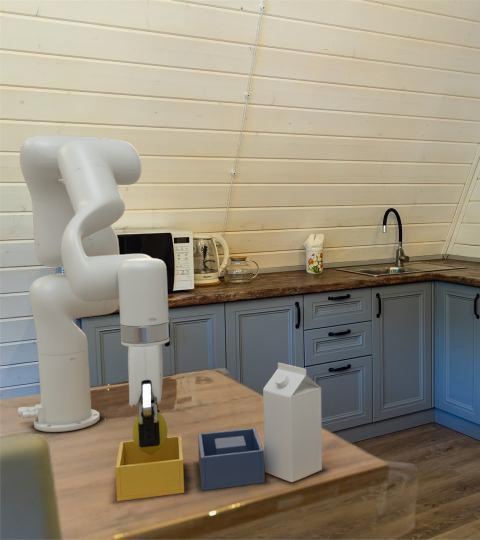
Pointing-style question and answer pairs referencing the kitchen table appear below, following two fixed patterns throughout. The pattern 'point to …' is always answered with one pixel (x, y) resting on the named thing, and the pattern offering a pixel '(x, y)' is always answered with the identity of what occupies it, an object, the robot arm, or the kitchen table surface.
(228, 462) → the blue bin
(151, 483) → the yellow bin
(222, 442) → the blue block
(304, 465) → the milk carton
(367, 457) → the kitchen table surface
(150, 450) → the lemon
